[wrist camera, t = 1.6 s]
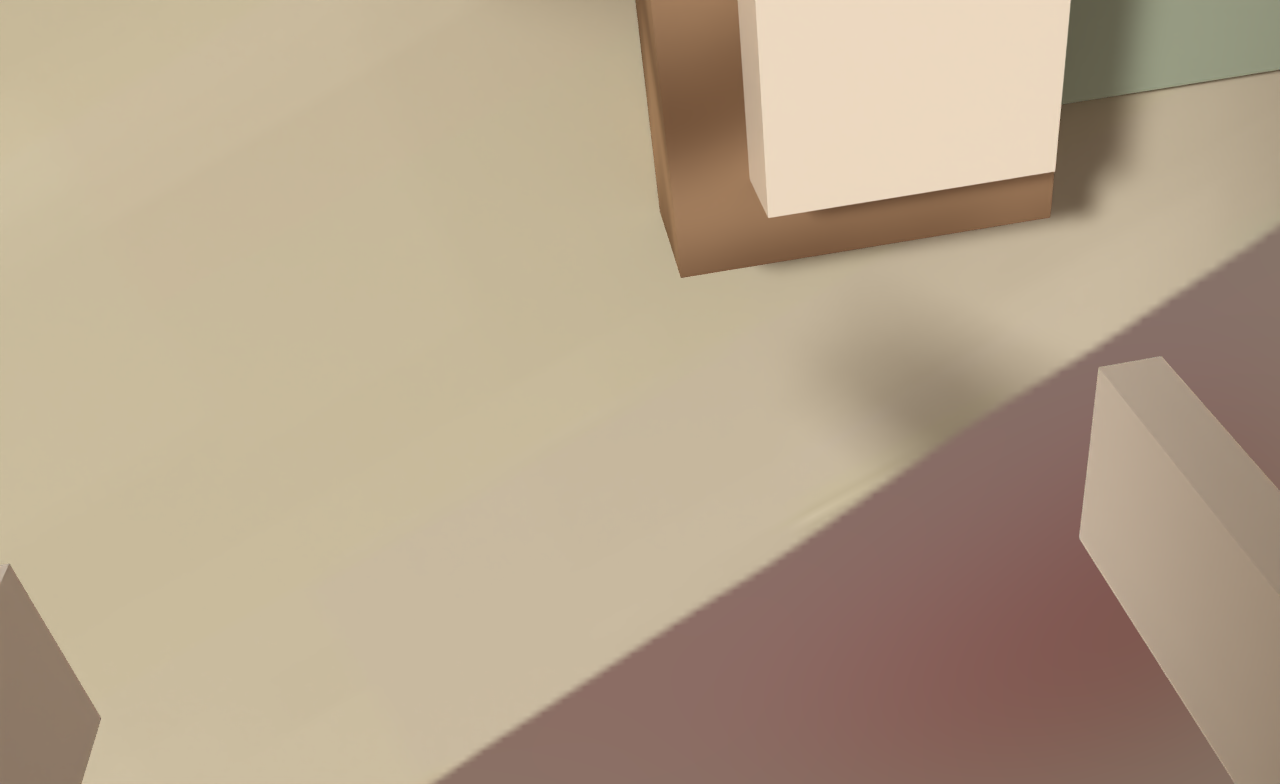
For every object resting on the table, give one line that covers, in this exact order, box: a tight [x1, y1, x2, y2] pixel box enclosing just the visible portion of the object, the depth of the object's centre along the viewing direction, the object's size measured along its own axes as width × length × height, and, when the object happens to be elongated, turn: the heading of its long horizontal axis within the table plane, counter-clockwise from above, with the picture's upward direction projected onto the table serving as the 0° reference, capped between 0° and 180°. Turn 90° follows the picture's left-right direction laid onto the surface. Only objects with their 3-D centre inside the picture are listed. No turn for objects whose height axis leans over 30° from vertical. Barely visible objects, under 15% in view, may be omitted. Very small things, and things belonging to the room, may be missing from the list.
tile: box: [738, 0, 1071, 218], centre depth 28 cm, size 7×7×2 cm
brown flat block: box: [636, 0, 1054, 278], centre depth 30 cm, size 11×10×4 cm
